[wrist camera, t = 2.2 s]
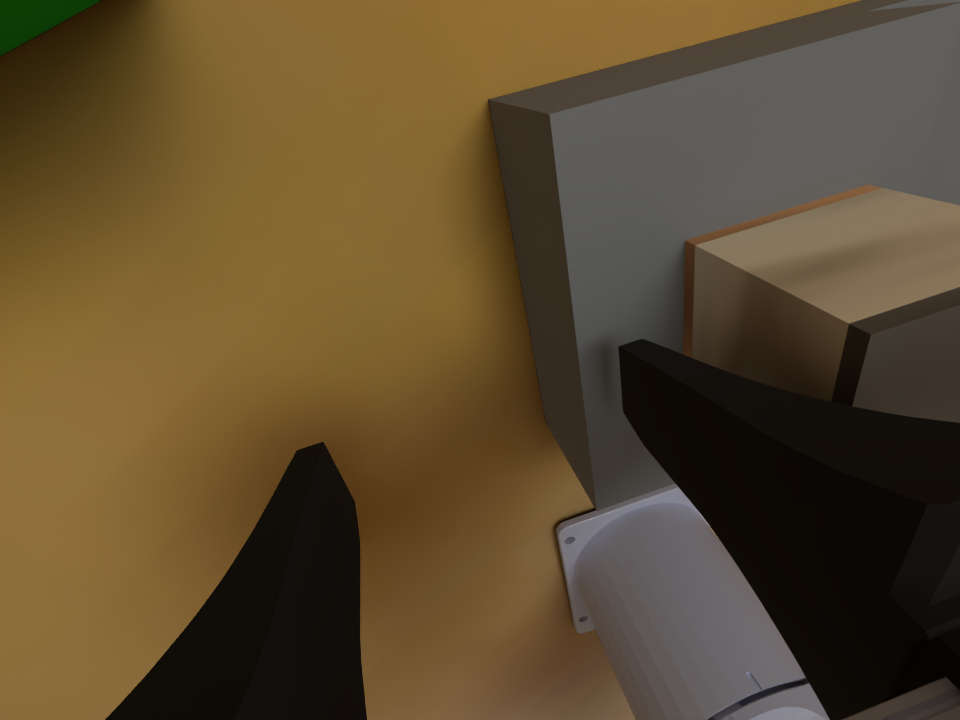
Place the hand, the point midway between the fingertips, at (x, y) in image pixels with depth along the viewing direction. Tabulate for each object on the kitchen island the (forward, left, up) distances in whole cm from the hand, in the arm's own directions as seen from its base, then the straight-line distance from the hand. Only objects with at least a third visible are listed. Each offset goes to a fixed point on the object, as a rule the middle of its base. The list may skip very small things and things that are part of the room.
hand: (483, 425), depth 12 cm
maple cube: (0, -8, -1) cm, 8 cm away
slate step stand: (0, -11, -6) cm, 12 cm away
